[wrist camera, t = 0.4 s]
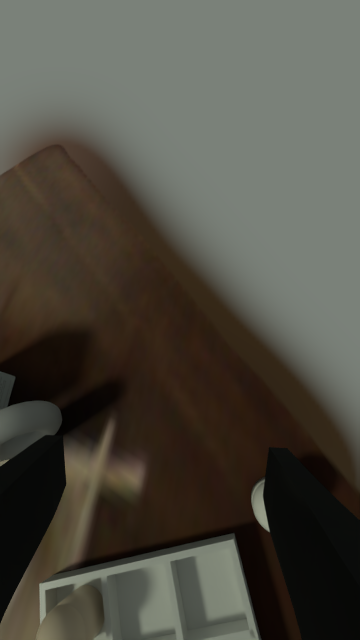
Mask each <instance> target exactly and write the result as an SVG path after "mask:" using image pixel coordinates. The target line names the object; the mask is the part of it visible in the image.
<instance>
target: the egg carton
mask: <svg viewBox="0 0 360 640" xmlns="http://www.w3.org/2000/svg"><path fill="white" fill-rule="evenodd" d="M36 640H261V637H260V633H259V629H258V625H257V621H256V617H255V613H254V609H253V605H252V601H251V597H250V593H249V589H248V586H247V582H246V578H245V574H244V570H243V566H242V562H241V558H240V554H239V550H238V546H237V542H236V538H235V534H234V533H231V534H227V535H223V536H218V537H214V538H210V539H206V540H201V541H197V542H193V543H188V544H184V545H180V546H175V547H171V548H167V549H162V550H158V551H154V552H150V553H145V554H141V555H137V556H132V557H128V558H124V559H119V560H115V561H111V562H106V563H102V564H98V565H94V566H89V567H85V568H81V569H76V570H72V571H68V572H63V573H59V574H55V575H52V576H51V577H49V578H48V579H46V580H45V581H43V582H42V583H40V627H39V629H38V632H37V636H36Z"/></svg>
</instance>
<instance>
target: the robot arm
mask: <svg viewBox="0 0 360 640" xmlns="http://www.w3.org/2000/svg"><path fill="white" fill-rule="evenodd" d="M65 486H66V475H65V461H64V446H63V436H58V435H45V436H43V437H42V438H40V439H39V440H37V441H36V442H34V443H33V444H31V445H30V446H29V447H27V448H26V449H24V450H23V451H22V452H20V453H19V454H17V455H16V456H15V457H13V458H12V459H10V460H9V461H7V462H6V463H5V464H3V465H2V466H0V623H1V620H2V618H3V616H4V613H5V611H6V609H7V607H8V605H9V603H10V601H11V599H12V596H13V594H14V592H15V590H16V588H17V586H18V585H19V583H20V581H21V579H22V577H23V575H24V573H25V571H26V569H27V567H28V565H29V563H30V561H31V560H32V558H33V556H34V554H35V552H36V550H37V548H38V546H39V544H40V542H41V540H42V538H43V536H44V535H45V533H46V531H47V529H48V527H49V525H50V523H51V521H52V519H53V517H54V515H55V512H56V510H57V507H58V505H59V502H60V500H61V497H62V494H63V491H64V489H65ZM263 500H264V506H265V511H266V516H267V521H268V526H269V530H270V534H271V537H272V540H273V543H274V547H275V550H276V553H277V557H278V560H279V563H280V566H281V569H282V573H283V576H284V579H285V582H286V585H287V589H288V592H289V595H290V598H291V601H292V605H293V608H294V611H295V615H296V618H297V622H298V626H299V629H300V633H301V638H302V640H360V520H359V519H358V518H357V517H355V516H354V515H353V514H352V513H351V512H350V511H349V510H348V509H347V508H346V507H344V506H343V505H342V504H341V503H340V502H339V501H338V500H337V499H336V498H335V497H334V496H333V495H332V494H331V493H330V492H329V491H328V490H327V489H326V488H325V487H324V486H323V485H322V484H321V483H320V482H319V481H318V480H317V479H316V478H315V477H314V476H313V475H312V474H311V473H310V472H309V471H308V470H307V469H306V468H305V467H304V465H303V464H302V463H301V462H300V461H299V460H298V459H297V458H296V457H295V456H294V455H293V454H292V453H291V452H290V451H289V450H288V449H287V448H272V447H269V453H268V460H267V468H266V475H265V483H264V490H263Z"/></svg>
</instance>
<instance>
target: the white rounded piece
mask: <svg viewBox="0 0 360 640" xmlns="http://www.w3.org/2000/svg"><path fill="white" fill-rule="evenodd" d="M61 424H62V415H61V411H60V409H59V408H58V407H57V406H56V405H54V404H52V403H50V402H47V401H28V402H23V403H19V404H15V405H11V406H9V407H6V408H3V409H1V410H0V461H4V460H8V459H12V458H13V457H15V456H16V455H17V454H19V453H20V452H22V451H23V450H24V449H26V448H27V447H29V446H30V445H31V444H33V443H34V442H36V441H37V440H39V439H40V438H42V437H43V436H45V435H55V434H56V433H57V431H58V429H59V428H60V426H61Z"/></svg>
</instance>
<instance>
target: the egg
mask: <svg viewBox="0 0 360 640" xmlns="http://www.w3.org/2000/svg"><path fill="white" fill-rule="evenodd" d="M264 483H265V477H263V478H261V479H259V480H258V481H257V482H256V483H255V484H254V486H253V488H252V491H251V502H252V507H253V511H254V514H255V517H256V519H257V520H258V522H259V523H260V525H261V526H262V527H263V528H264V529H266V530H267V531H269V532H270V530H269V526H268V521H267V516H266V511H265V506H264V500H263V490H264Z"/></svg>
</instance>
